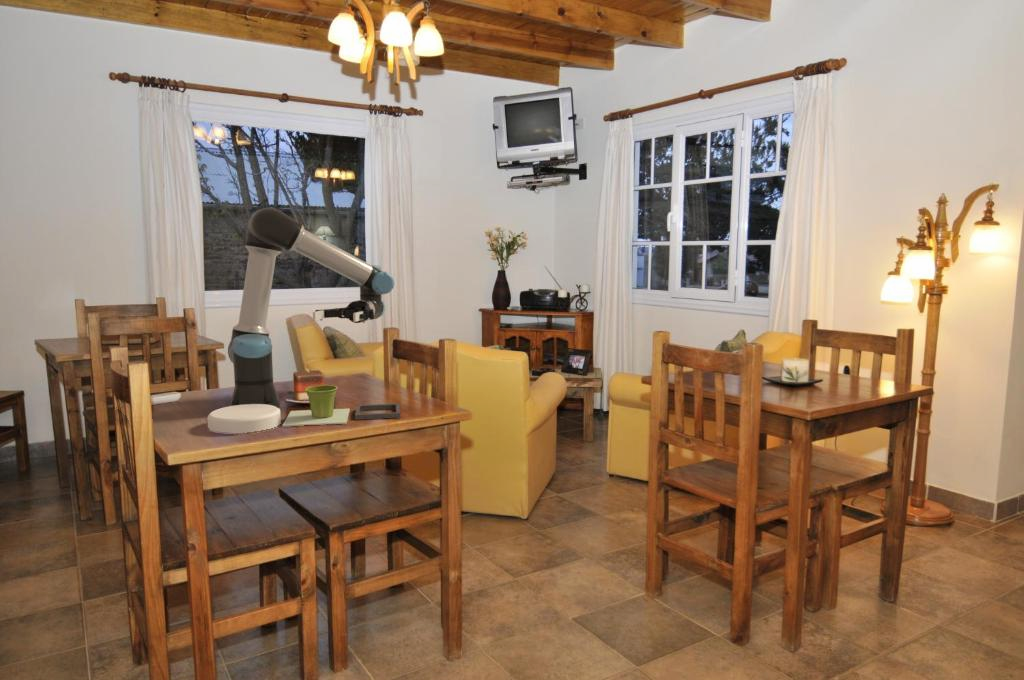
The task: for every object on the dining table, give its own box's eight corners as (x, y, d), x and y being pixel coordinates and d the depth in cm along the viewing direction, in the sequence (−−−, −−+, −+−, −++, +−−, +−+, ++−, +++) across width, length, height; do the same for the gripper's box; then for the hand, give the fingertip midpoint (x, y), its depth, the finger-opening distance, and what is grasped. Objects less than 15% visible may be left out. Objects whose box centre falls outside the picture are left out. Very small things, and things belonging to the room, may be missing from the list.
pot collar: (355, 420, 214) (354, 415, 214) (357, 409, 227) (356, 405, 227) (400, 418, 217) (400, 413, 216) (399, 408, 230) (399, 403, 229)
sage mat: (282, 427, 206) (282, 425, 206) (290, 412, 224) (290, 410, 224) (346, 424, 209) (346, 422, 209) (349, 410, 227) (349, 408, 227)
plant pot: (327, 420, 211) (326, 392, 210) (300, 418, 214) (298, 390, 213) (344, 413, 220) (343, 386, 219) (317, 411, 223) (316, 384, 221)
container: (293, 426, 208) (292, 410, 208) (224, 439, 194) (223, 423, 194) (263, 415, 223) (262, 400, 222) (197, 426, 209) (196, 410, 208)
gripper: (394, 323, 245) (371, 329, 224) (326, 321, 250) (297, 327, 229) (394, 301, 244) (371, 305, 223) (326, 299, 249) (297, 304, 228)
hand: (334, 316), depth 226 cm, fingers open, 13 cm apart
